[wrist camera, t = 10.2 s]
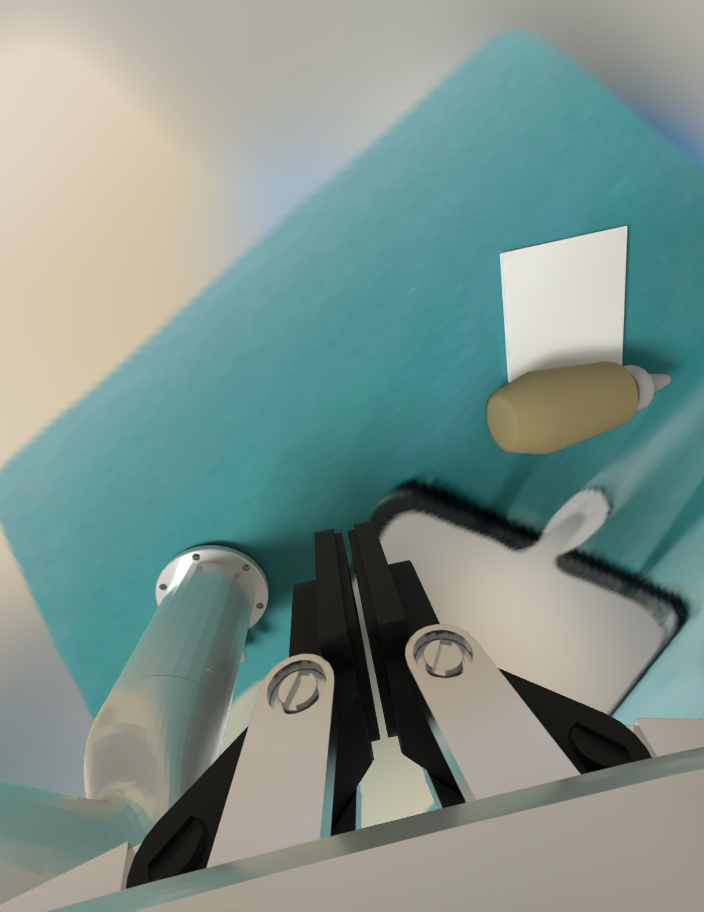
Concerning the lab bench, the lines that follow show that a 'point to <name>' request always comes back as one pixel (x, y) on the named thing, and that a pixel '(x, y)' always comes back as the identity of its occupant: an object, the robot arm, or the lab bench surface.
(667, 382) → the squeeze bottle
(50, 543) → the lab bench surface
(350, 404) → the lab bench surface
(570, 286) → the mat
